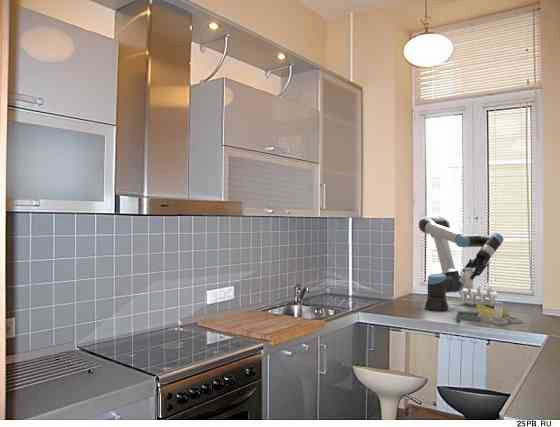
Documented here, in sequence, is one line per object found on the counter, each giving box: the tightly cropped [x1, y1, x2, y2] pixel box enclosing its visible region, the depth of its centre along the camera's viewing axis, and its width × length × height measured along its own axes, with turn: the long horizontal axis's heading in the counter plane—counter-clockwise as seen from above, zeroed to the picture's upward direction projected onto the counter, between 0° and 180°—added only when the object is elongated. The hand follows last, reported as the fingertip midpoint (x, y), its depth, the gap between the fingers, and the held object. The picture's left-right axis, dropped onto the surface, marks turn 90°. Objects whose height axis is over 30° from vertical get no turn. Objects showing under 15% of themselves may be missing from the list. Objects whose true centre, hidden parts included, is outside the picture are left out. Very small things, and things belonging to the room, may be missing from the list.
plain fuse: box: [493, 300, 504, 321], centre depth 259 cm, size 5×5×12 cm
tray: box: [456, 310, 480, 323], centre depth 272 cm, size 12×12×4 cm
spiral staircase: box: [457, 279, 498, 308], centre depth 319 cm, size 18×18×25 cm
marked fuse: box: [463, 267, 474, 290], centre depth 272 cm, size 5×5×12 cm
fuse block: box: [486, 316, 524, 327], centre depth 261 cm, size 20×9×4 cm, turn 111°
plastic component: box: [475, 301, 510, 318], centre depth 285 cm, size 20×7×10 cm
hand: (463, 282), depth 271 cm, fingers closed on marked fuse, 4 cm apart
